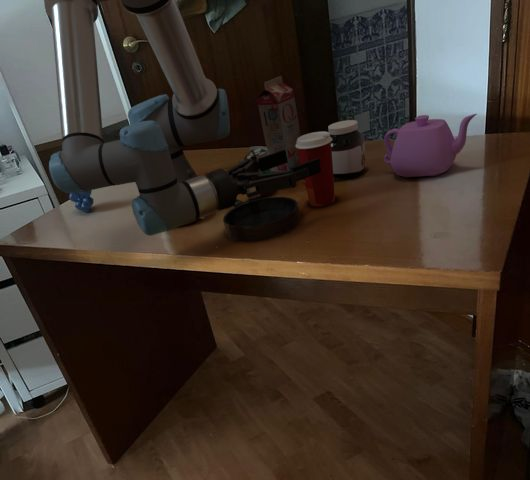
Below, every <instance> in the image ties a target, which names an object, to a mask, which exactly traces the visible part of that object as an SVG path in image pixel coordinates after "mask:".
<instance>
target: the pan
mask: <svg viewBox="0 0 530 480" xmlns="http://www.w3.org/2000/svg"><path fill="white" fill-rule="evenodd" d="M300 221H301V213H300V207H299V202H298V201H297V200H296V199H294V198H292V197H286V196H270V197H269V196H267V197H266V198H262V199H257V200H253V201H250V202H247V203H244V204H241V205H239V206H237V207H233V208H231V209H230V210H228V211H227V212H226V213H225V214H224V216H223V219H222V222H223V225H224V228H225V232H226V236H227V237H229V238H230V239H232V240H235V241H239V242H240V241H241V242H253V241H261V240H266V239H270V238H274V237H277V236H280V235H282V234H285V233H287V232H289V231H290V230H292V229H294V228H295V227H296V226H297V225H298V224H299V223H300Z"/></svg>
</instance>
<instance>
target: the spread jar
mask: <svg viewBox="0 0 530 480" xmlns="http://www.w3.org/2000/svg"><path fill="white" fill-rule="evenodd" d="M327 127H328V128H327V130H328V131H327V132H328V133H329V134H330V137H331V138H332V141H331V150H332V164H333V177H334V179H337V180H349V179H354V178H356V177H359V176H361V175H362V174H363V173H364V171H365V168H366V165H367V163H366V162H367V161H366V160H367V157H366V146H365V138H364V135H363V133H362V132H361V130H360V129H359V123H358V121H357V120H355V119H348V120H347V119H346V120H341V121H337V122H333V123H331V124H329V125H328V126H327Z"/></svg>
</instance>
